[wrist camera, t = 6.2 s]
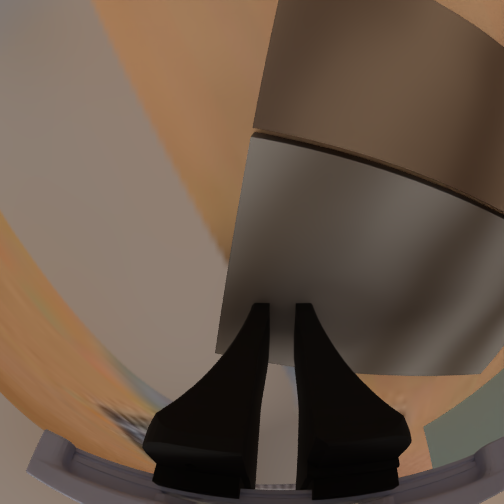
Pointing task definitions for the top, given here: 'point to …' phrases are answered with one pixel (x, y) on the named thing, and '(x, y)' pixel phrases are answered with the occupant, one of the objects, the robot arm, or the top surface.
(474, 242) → the grey oak plank
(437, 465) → the l-shaped corner panel
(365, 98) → the walnut floor row
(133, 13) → the top surface
